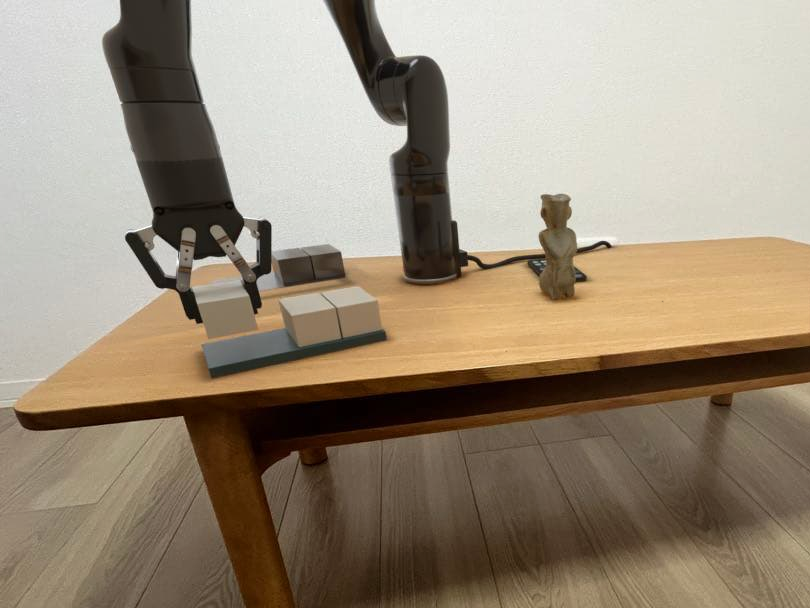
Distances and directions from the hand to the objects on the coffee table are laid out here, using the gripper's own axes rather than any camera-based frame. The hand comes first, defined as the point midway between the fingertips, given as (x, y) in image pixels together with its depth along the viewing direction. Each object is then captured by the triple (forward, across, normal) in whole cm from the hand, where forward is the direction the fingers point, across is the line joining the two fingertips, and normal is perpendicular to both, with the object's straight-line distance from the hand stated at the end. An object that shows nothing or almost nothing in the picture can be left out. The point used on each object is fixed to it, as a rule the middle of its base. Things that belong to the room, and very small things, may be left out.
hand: (227, 316), depth 62 cm
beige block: (+1, 0, 0) cm, 1 cm away
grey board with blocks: (+5, +11, +32) cm, 34 cm away
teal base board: (+5, +7, 0) cm, 8 cm away
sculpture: (+5, +46, -2) cm, 46 cm away
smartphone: (+5, +54, +10) cm, 55 cm away
